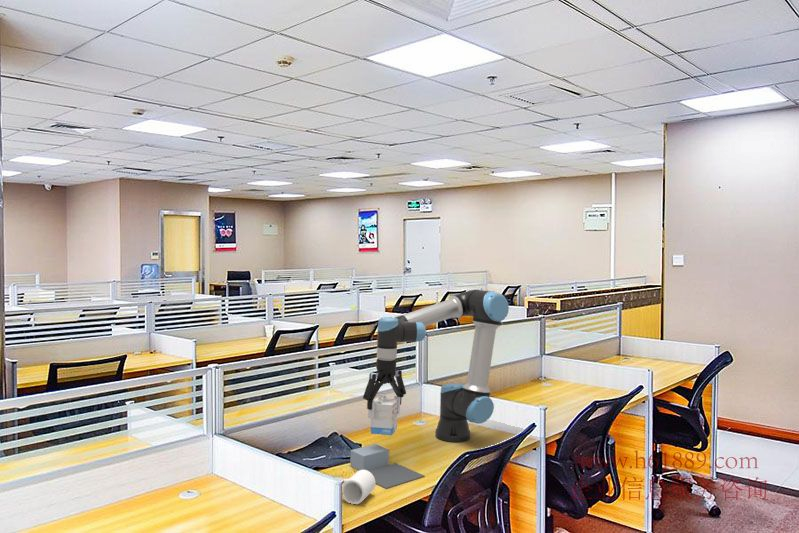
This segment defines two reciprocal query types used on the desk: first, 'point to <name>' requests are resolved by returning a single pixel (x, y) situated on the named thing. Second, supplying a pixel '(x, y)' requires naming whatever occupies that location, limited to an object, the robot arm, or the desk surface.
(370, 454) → the step
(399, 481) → the mat
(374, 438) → the desk surface
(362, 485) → the mug
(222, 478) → the desk surface
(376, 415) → the ink box
